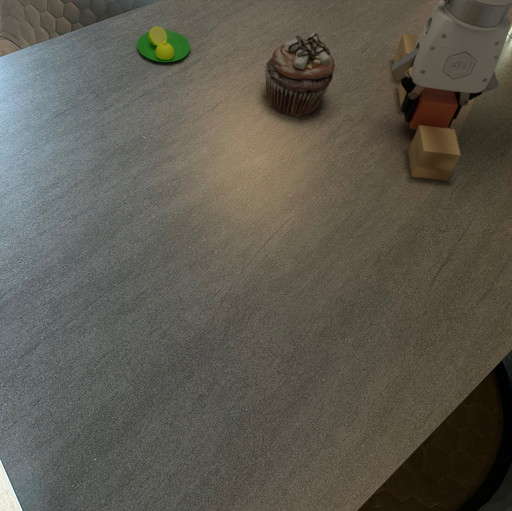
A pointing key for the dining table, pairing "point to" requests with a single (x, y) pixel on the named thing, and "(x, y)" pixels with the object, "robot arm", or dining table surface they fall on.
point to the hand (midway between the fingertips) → (426, 117)
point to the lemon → (163, 45)
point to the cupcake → (298, 75)
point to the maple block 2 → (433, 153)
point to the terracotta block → (434, 108)
